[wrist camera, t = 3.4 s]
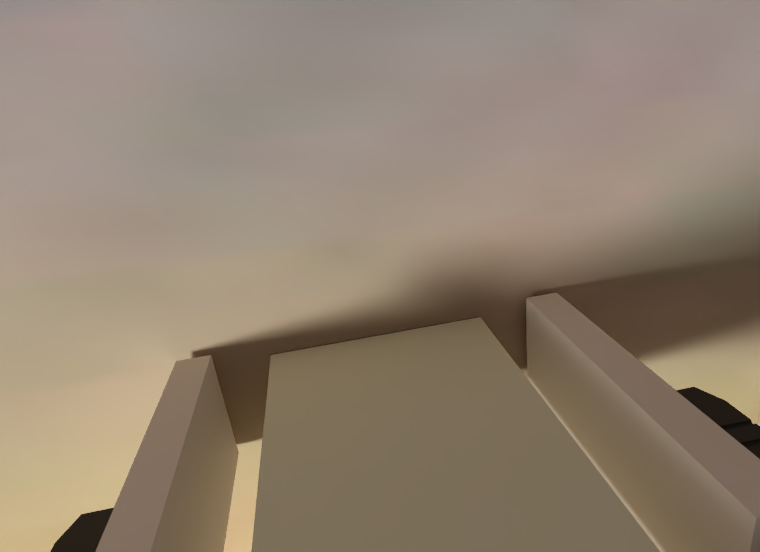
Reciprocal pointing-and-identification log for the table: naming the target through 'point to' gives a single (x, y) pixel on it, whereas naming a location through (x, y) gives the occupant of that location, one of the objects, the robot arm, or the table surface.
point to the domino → (425, 454)
